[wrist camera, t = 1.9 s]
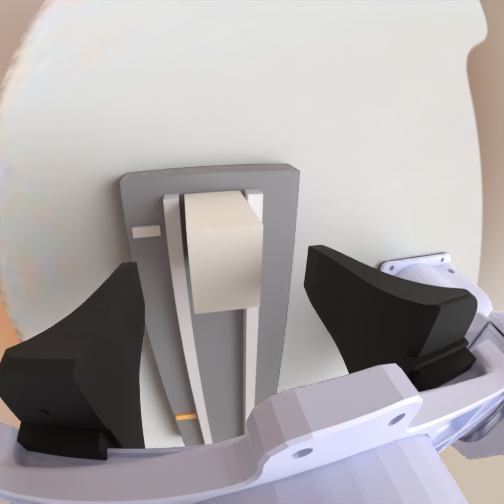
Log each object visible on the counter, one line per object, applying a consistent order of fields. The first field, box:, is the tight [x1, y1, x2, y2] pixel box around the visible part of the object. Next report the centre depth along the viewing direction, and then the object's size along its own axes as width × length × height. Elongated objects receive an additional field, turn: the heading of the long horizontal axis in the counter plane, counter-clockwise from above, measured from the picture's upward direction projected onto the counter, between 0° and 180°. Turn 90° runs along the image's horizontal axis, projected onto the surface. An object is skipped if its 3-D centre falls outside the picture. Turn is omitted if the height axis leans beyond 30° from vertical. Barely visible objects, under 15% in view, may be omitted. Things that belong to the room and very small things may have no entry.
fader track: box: [119, 164, 300, 446], centre depth 23 cm, size 10×30×3 cm, turn 179°
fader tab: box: [184, 191, 263, 314], centre depth 15 cm, size 3×4×5 cm
